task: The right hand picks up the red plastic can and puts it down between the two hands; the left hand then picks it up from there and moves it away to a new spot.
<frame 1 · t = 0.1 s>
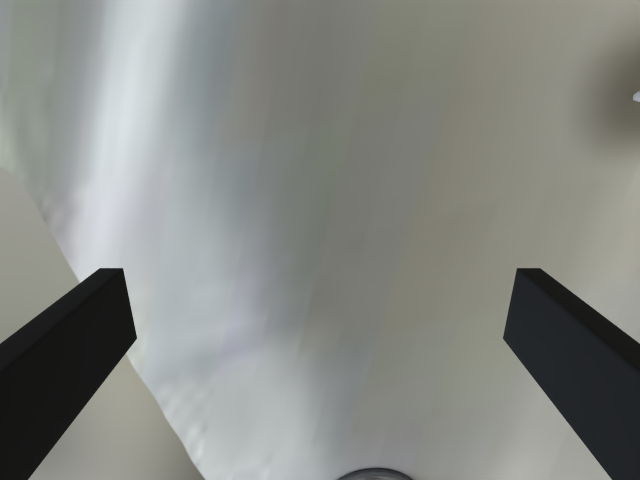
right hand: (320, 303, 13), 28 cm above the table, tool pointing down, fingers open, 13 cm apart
mushroom: (631, 95, 37), on the table
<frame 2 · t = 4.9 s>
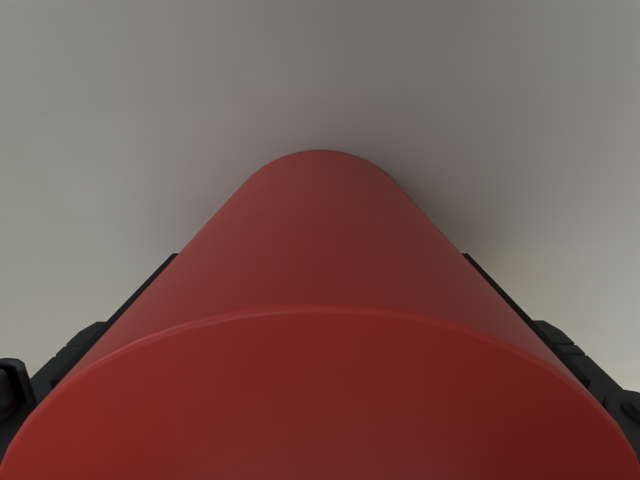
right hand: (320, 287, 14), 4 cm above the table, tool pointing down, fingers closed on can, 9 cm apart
can: (320, 250, 17), on the table, touching right hand
when the right hand's fingers open (5 cm above the table, at t = 12.6 s): can drops 2 cm, on the table.
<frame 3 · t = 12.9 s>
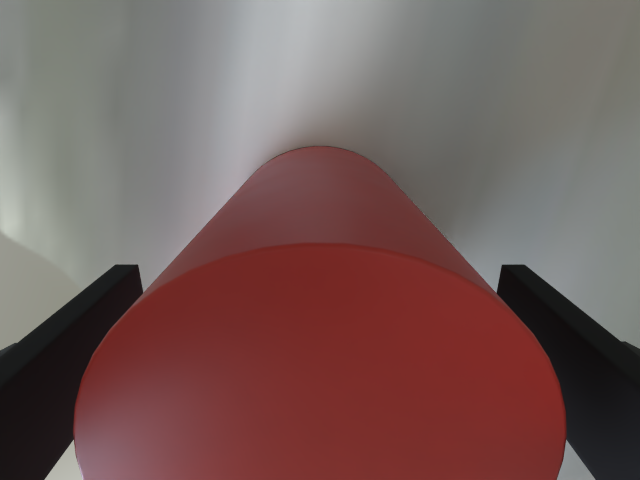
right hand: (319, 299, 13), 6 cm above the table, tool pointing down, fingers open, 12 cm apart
can: (319, 237, 19), on the table
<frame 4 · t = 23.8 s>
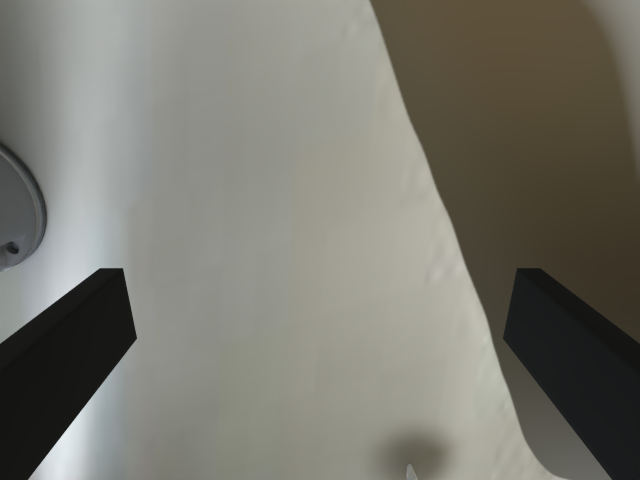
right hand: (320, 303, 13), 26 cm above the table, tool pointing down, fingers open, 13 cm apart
mushroom: (407, 463, 52), on the table
when the left hand's fingers open (5 cm above the table, at t = 37.0 s): can drops 2 cm, on the table.
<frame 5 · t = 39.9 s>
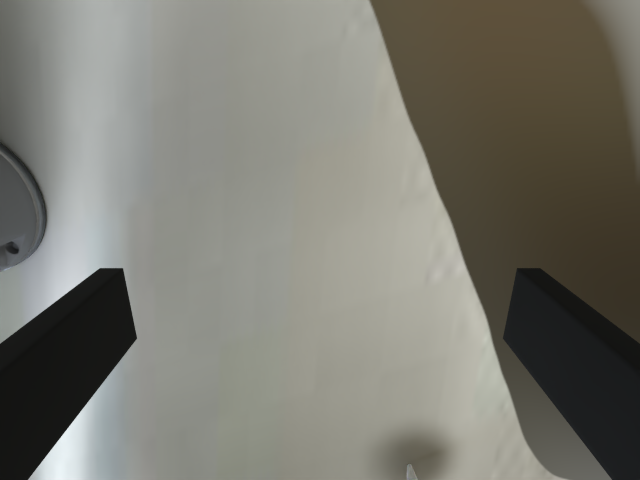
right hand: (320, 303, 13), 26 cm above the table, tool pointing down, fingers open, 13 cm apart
mushroom: (407, 463, 52), on the table
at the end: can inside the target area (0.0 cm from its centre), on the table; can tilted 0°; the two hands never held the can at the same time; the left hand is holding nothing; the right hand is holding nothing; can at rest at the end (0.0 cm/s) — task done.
